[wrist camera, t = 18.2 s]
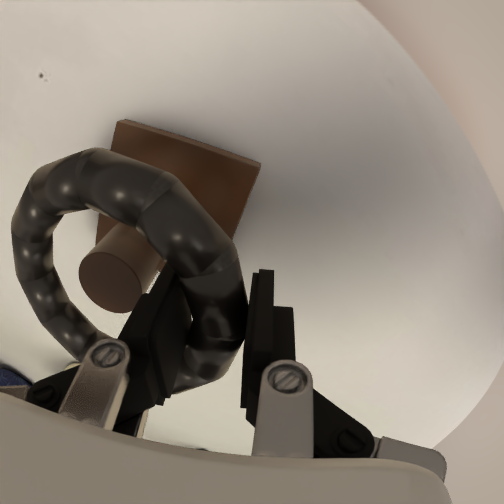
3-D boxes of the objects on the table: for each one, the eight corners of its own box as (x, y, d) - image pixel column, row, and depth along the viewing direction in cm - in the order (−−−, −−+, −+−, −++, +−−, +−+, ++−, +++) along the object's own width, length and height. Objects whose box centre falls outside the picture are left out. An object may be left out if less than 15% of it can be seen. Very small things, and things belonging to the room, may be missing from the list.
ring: (38, 118, 10) (2, 127, 8) (301, 215, 10) (298, 244, 8) (40, 309, 15) (20, 330, 13) (209, 397, 15) (198, 427, 14)
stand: (125, 118, 17) (28, 150, 9) (261, 163, 18) (251, 227, 10) (102, 238, 22) (32, 317, 14) (215, 280, 23) (188, 383, 15)
